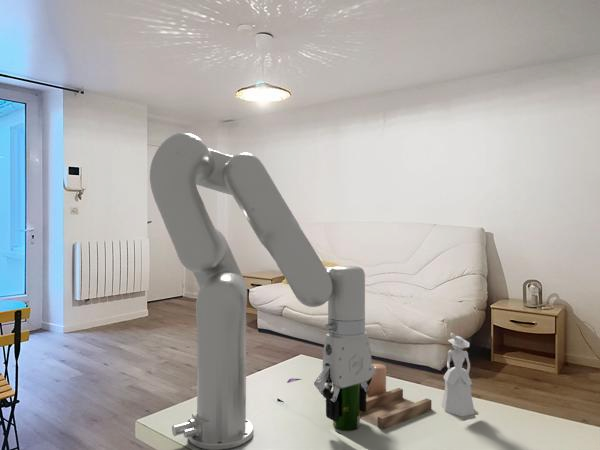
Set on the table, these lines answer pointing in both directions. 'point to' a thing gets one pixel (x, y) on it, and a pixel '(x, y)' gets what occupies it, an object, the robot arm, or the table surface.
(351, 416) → the beer can
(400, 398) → the rack
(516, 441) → the table surface
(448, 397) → the figurine
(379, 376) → the peach rounded cylinder
